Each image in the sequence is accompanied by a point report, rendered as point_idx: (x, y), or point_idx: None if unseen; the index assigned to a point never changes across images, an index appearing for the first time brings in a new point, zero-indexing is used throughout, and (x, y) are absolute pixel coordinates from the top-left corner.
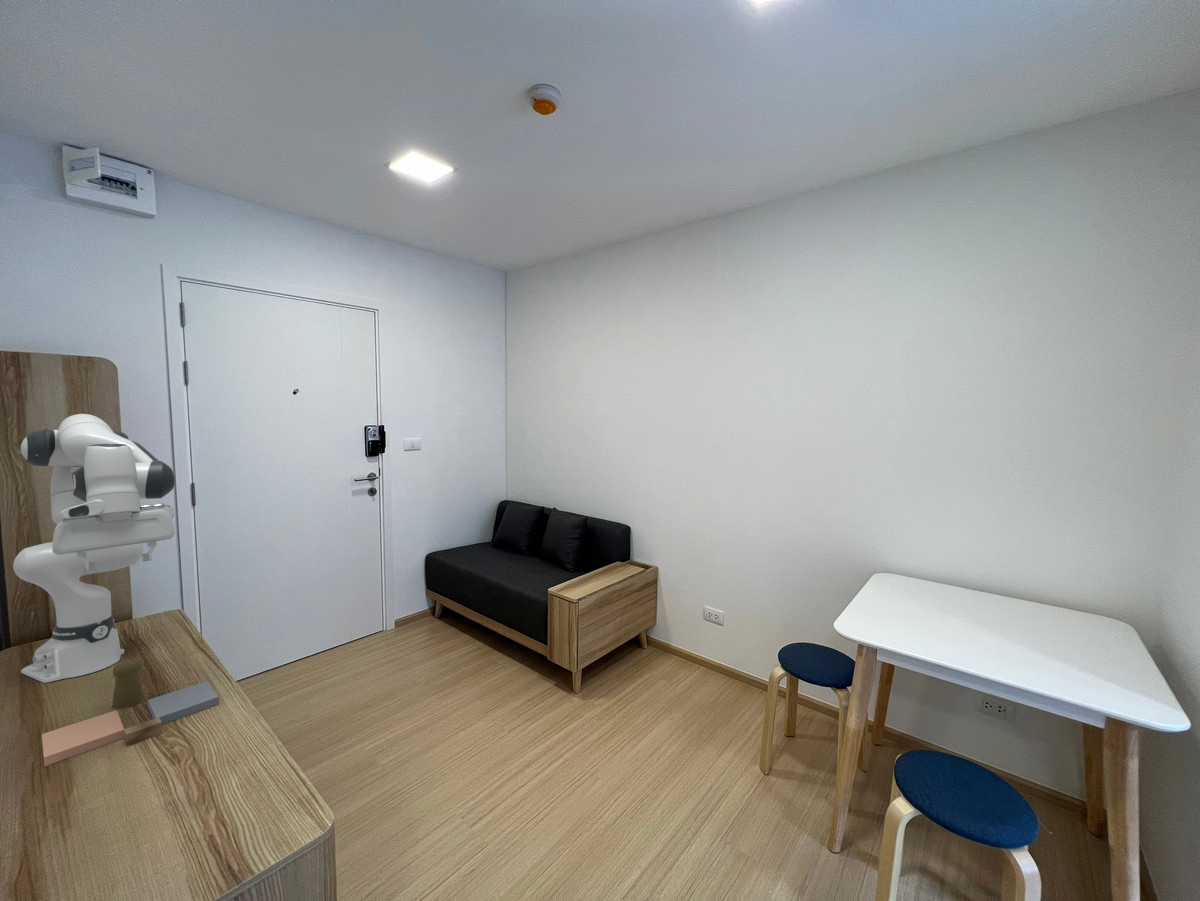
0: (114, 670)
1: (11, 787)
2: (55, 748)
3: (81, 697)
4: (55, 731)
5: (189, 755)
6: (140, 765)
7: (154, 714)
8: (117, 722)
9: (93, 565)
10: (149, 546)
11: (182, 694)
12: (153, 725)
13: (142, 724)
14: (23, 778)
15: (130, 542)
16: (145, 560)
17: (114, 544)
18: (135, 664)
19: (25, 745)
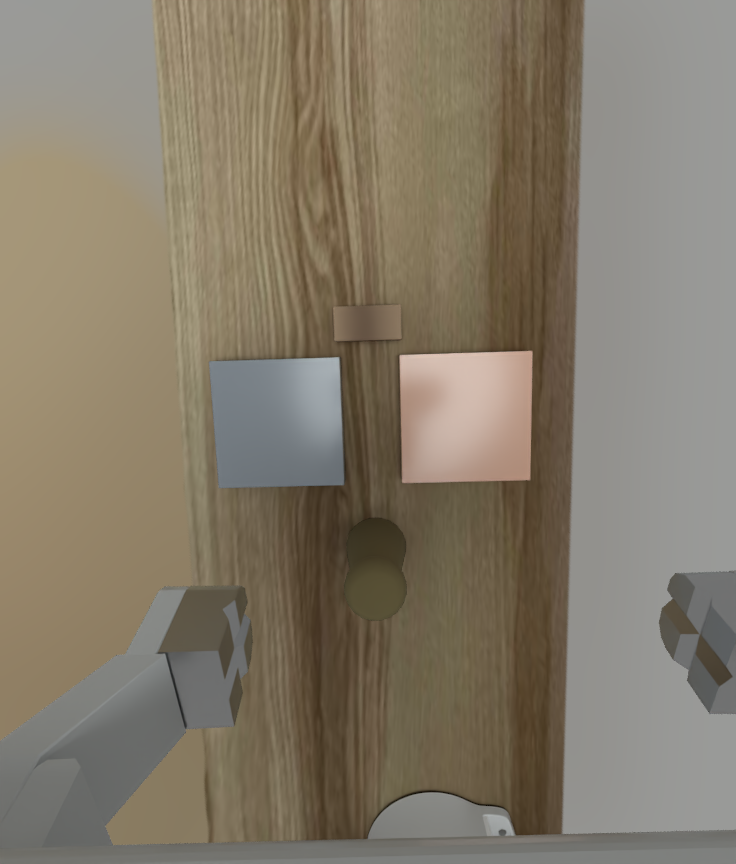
0: (404, 582)
1: (573, 308)
2: (513, 376)
3: (451, 660)
4: (508, 471)
5: (303, 144)
6: (385, 188)
7: (340, 384)
8: (407, 407)
9: (719, 593)
10: (97, 840)
11: (276, 450)
12: (349, 306)
13: (367, 331)
14: (556, 330)
15: (337, 849)
16: (225, 589)
17: (630, 857)
18: (357, 572)
19: (548, 488)
